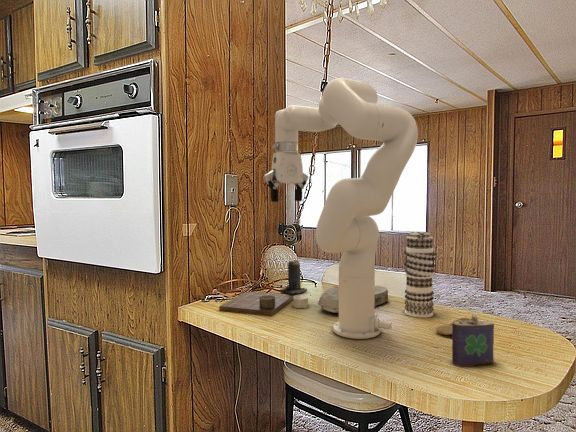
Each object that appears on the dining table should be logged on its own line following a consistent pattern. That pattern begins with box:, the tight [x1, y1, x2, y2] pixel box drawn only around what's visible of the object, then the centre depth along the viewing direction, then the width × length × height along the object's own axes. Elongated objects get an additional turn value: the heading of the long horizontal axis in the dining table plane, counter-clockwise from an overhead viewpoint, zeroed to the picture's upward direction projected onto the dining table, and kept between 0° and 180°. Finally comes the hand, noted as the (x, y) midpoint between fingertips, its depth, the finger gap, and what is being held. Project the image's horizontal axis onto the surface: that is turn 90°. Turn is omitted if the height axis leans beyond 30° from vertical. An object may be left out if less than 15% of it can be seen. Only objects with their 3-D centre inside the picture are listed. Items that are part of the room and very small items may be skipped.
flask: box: [451, 314, 495, 367], centre depth 90 cm, size 9×3×11 cm, turn 95°
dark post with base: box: [279, 259, 308, 296], centre depth 154 cm, size 9×8×12 cm
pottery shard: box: [435, 317, 471, 336], centre depth 109 cm, size 11×4×10 cm
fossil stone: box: [317, 285, 389, 314], centre depth 136 cm, size 28×15×5 cm, turn 131°
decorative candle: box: [403, 231, 437, 319], centre depth 126 cm, size 9×9×25 cm
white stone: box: [292, 294, 309, 309], centre depth 136 cm, size 5×5×3 cm
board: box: [218, 291, 294, 317], centre depth 138 cm, size 18×20×2 cm
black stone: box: [259, 295, 275, 309], centre depth 130 cm, size 5×5×3 cm
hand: (286, 201), depth 136 cm, fingers open, 9 cm apart
